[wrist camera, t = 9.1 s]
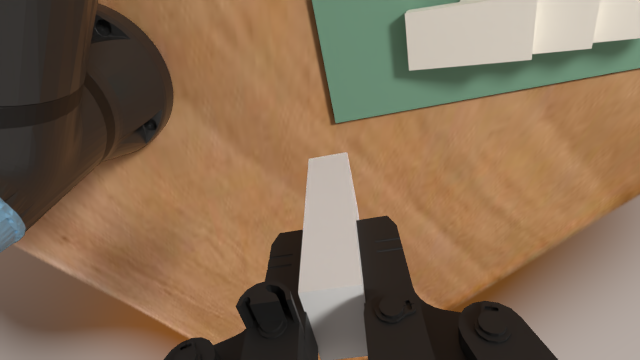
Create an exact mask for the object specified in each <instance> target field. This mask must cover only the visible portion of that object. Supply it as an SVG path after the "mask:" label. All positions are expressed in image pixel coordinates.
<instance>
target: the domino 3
mask: <svg viewBox="0 0 640 360" xmlns="http://www.w3.org/2000/svg"><path fill="white" fill-rule="evenodd" d="M637 38H640V0H600V5H599V11H598V16H597V22H596V28H595V33H594V39H593V43H597V42H607V41H617V40H627V39H637Z"/></svg>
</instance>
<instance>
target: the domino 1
mask: <svg viewBox="0 0 640 360" xmlns="http://www.w3.org/2000/svg"><path fill="white" fill-rule="evenodd" d="M536 9H537V0H469V1H463V2H456V3H450V4H444V5H437V6H431V7H425V8H418V9H412V10H408V11H407V12H406V13H405V24H406V37H407V51H408V64H409V71H411V70H422V69H434V68H445V67H456V66H468V65H479V64H490V63H502V62H513V61H524V60H532V51H533V41H534V30H535V20H536Z"/></svg>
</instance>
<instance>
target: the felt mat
mask: <svg viewBox="0 0 640 360" xmlns="http://www.w3.org/2000/svg"><path fill="white" fill-rule="evenodd" d="M456 2H460V0H312V4H313V9H314V14H315V19H316V24H317V29H318V35H319V40H320V45H321V50H322V55H323V60H324V66H325V71H326V76H327V81H328V86H329V91H330V97H331V102H332V107H333V112H334V117H335V122H336V123H340V122H345V121H351V120H356V119H362V118H367V117H373V116H378V115H384V114H389V113H395V112H400V111H406V110H411V109H417V108H422V107H428V106H433V105H439V104H444V103H450V102H455V101H461V100H466V99H472V98H477V97H483V96H488V95H494V94H499V93H505V92H510V91H516V90H521V89H527V88H532V87H538V86H543V85H549V84H554V83H560V82H565V81H571V80H576V79H582V78H587V77H593V76H598V75H604V74H609V73H615V72H620V71H626V70H631V69H637V68H640V38H637V39H627V40H617V41H607V42H597V43H593V45H592V49H582V50H571V51H561V52H550V53H539V54H532V60H524V61H513V62H502V63H490V64H479V65H468V66H456V67H445V68H434V69H422V70H411V71H409V64H408V51H407V37H406V24H405V13H406V12H407V11H408V10H412V9H418V8H425V7H431V6H437V5H444V4H450V3H456Z"/></svg>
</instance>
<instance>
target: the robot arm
mask: <svg viewBox="0 0 640 360" xmlns="http://www.w3.org/2000/svg"><path fill="white" fill-rule="evenodd" d="M172 106H173V87H172V81H171V77H170V74H169V71H168V68H167V66H166V64H165V61H164V59H163V58H162V56H161V54H160V52H159V51H158V49H157V48H156V46H155V45H154V44H153V42H152V41H151V40H150V39H149V37H148V36H147V35H146V34H145V33H144V32H143V31H142V30H141V29H140V28H139V27H138V26H136V25H135V24H134V23H133V22H132V21H130V20H129V19H128V18H126V17H125V16H123V15H122V14H120V13H118V12H116V11H115V10H113V9H111V8H108V7H106V6H104V5H101V4H98V0H0V252H2V251H3V250H5V249H6V248H7V247H9V246H10V245H12V244H13V243H16V242H17V241H19V240H20V239H21V238H22V237H23V236H24V235H25V232H26V231H27V230H28V229H29V228H30V227H31V226H32V225H33V224H34V223H35V222H37V221H38V220H39V219H40V218H41V217H42V216H43V215H44V214H45V213H46V212H47V211H48V210H50V209H51V208H52V207H53V206H54V205H55V204H56V203H57V202H58V201H59V200H60V199H61V198H63V197H64V196H65V195H66V194H67V193H68V192H69V191H70V190H71V189H72V188H73V187H74V186H76V185H77V184H78V183H79V182H80V181H81V180H82V179H83V178H84V177H85V176H86V175H88V174H89V173H90V172H91V171H92V170H93V169H94V168H95V167H96V166H97V165H98V164H99V163H101V162H102V161H106V160H109V159H113V158H116V157H119V156H123V155H126V154H129V153H132V152H135V151H137V150H139V149H141V148H143V147H144V146H146V145H147V144H148V143H150V142H151V141H152V140H153V139H154V138H155V137H156V136H157V135H158V134H159V133H160V132H161V130H162V129H163V128H164V127H165V125H166V123H167V122H168V119H169V117H170V114H171V111H172ZM236 308H237V310H238V312H239V314H240V316H241V318H242V320H243V322H244V324H245V326H246V328H247V329H245V330H244V331H243V332H241V333H240V334H238V335H236V336H234V337H232V338H229V339H227V340H225V341H222V342H220V343H218V344H215V345H212V343H211V342H210V341H209V340H207V339H204V338H202V337H200V338H191V339H189V340H186V341H184V342H182V343H180V344H179V345H177V346H176V347H175V348H174V349H172V350H171V351H170V352H169V354H168V355H167V356H166V358H165V359H164V360H318V352H319V355H320V358H321V360H335V359H344V358H353V357H362V356H368V360H558V359H557V358H556V357H555V356H554V355H553V353H552V352H551V351H550V350H549V349H548V348H547V346H546V345H545V344H544V343H543V342H542V341H541V340H540V338H539V337H538V336H537V335H536V334H535V333H534V332H533V331H532V329H531V328H530V327H529V326H528V325H527V323H526V322H525V321H524V320H523V319H522V318H521V317H520V316H519V315H518V314H517V313H516V312H514V311H513V310H512V309H511V308H509V307H506V306H504V305H502V304H500V303H496V302H489V301H482V302H476V303H472V304H471V305H469V306H467V307H466V308H464V310H463V311H462V313H460V312H454V311H448V310H442V309H439V308H435V307H433V306H431V305H428V304H427V303H425V302H424V301H423V300H421V299H420V298H419V297H418V295H417V294H416V293H415V291H414V288H413V286H412V282H411V278H410V274H409V270H408V267H407V263H406V259H405V255H404V252H403V248H402V244H401V240H400V236H399V233H398V229H397V225H396V224H395V223H394V222H393V221H392V220H391V219H390V218H389V217H388V216H382V217H376V218H369V219H363V220H359V215H358V208H357V202H356V197H355V192H354V186H353V181H352V176H351V170H350V165H349V160H348V154H347V152H345V153H340V154H334V155H328V156H323V157H317V158H311V159H309V163H308V175H307V188H306V200H305V213H304V225H303V230H298V231H291V232H285V233H280V234H279V235H278V237H277V238H276V239H275V241H274V242H273V244H272V246H271V252H270V260H269V262H268V270H267V273H266V279H265V282H262V283H258V284H256V285H254V286H253V287H251V288H249V289H248V290H247V291H246V292H245V293H244V294H243V295H242V296H241V297H240V299H239V301H238V303H237V305H236Z"/></svg>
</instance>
